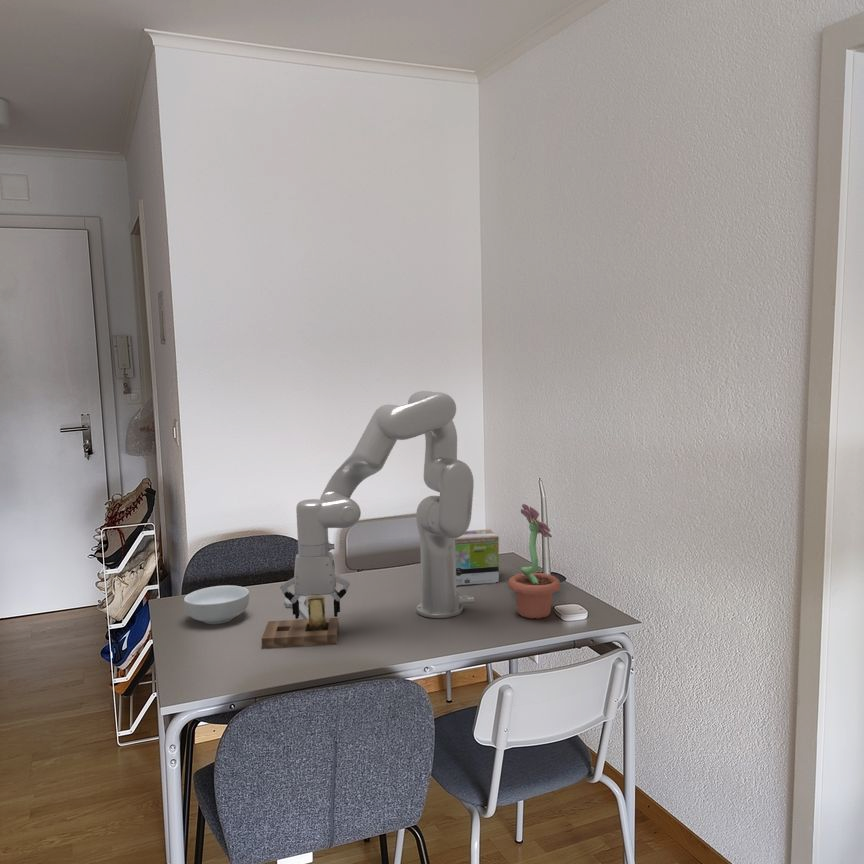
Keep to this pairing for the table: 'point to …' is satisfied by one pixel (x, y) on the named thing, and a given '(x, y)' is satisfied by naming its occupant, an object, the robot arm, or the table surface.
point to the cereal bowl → (217, 603)
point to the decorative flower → (534, 575)
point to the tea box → (477, 557)
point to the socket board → (298, 634)
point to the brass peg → (316, 613)
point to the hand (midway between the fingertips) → (316, 616)
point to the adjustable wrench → (302, 608)
